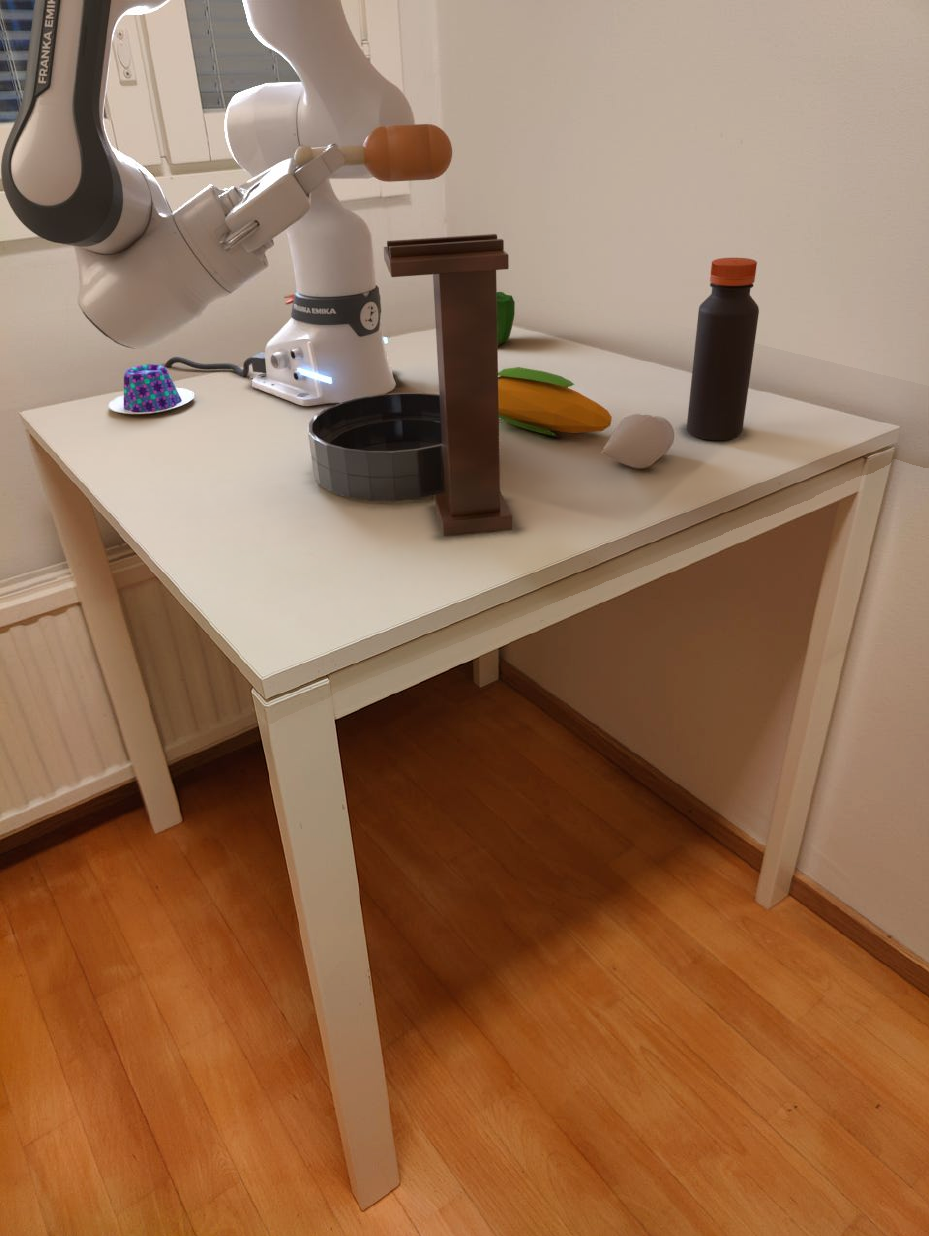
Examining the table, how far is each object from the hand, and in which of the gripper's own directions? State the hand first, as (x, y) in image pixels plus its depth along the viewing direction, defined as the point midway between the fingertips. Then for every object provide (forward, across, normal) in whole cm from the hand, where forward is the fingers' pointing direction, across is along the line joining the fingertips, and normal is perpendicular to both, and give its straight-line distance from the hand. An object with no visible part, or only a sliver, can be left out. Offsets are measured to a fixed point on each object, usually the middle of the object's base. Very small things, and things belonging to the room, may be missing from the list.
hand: (340, 151), depth 83 cm
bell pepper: (+3, +52, +40) cm, 66 cm away
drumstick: (+1, 0, +4) cm, 4 cm away
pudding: (-43, +33, +14) cm, 56 cm away
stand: (-10, -15, +33) cm, 37 cm away
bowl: (-14, 0, +30) cm, 33 cm away
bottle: (+21, +3, +50) cm, 54 cm away
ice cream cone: (+9, -6, +44) cm, 45 cm away
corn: (+3, +8, +40) cm, 41 cm away
